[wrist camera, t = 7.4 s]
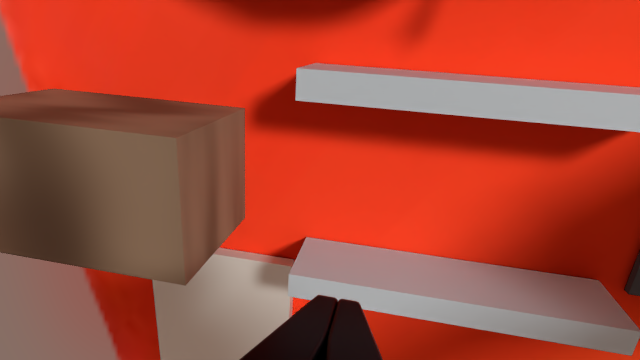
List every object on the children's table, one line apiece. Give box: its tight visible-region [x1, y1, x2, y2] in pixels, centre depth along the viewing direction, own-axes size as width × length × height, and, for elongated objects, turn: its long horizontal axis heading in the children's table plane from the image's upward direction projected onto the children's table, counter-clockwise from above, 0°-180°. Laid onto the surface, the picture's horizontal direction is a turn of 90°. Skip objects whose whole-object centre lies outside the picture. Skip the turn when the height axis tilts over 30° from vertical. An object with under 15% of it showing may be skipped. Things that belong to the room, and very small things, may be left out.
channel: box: [288, 63, 640, 356], centre depth 14 cm, size 12×8×3 cm
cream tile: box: [152, 248, 294, 360], centre depth 20 cm, size 7×8×1 cm
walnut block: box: [0, 89, 245, 286], centre depth 15 cm, size 9×5×6 cm, turn 86°
